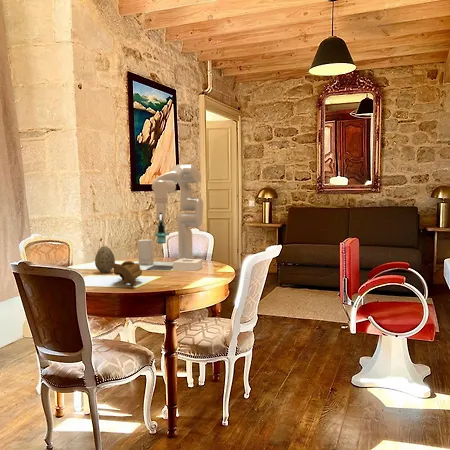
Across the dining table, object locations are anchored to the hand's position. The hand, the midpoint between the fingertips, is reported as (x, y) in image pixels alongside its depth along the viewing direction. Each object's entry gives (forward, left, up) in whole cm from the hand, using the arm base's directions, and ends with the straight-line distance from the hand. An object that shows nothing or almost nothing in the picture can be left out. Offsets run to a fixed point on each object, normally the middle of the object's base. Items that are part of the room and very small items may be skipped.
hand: (161, 231), depth 255 cm
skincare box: (-13, -15, -22) cm, 30 cm away
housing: (0, +16, -22) cm, 27 cm away
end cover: (0, 0, -7) cm, 7 cm away
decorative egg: (+19, -27, -22) cm, 40 cm away
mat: (0, 0, -22) cm, 22 cm away
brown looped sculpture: (+45, -2, -22) cm, 50 cm away
